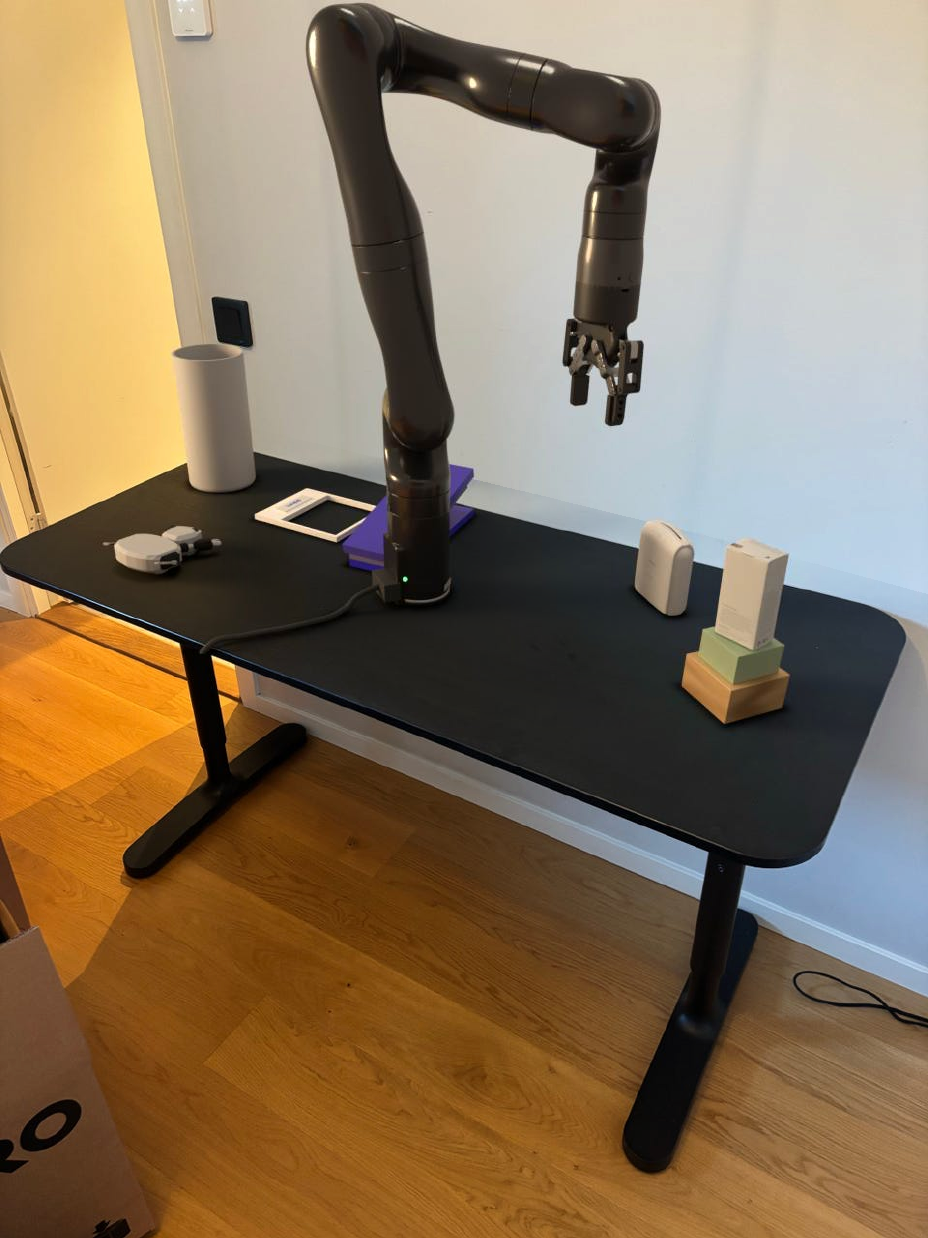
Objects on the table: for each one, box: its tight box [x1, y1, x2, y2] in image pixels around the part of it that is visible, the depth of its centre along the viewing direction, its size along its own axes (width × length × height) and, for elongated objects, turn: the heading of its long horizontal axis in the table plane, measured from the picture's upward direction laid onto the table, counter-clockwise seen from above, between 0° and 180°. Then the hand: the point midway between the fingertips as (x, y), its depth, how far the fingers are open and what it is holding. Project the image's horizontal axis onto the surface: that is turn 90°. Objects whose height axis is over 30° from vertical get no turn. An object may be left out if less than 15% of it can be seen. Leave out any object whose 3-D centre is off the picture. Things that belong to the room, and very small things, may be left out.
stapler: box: [342, 463, 475, 572], centre depth 153 cm, size 12×28×10 cm, turn 156°
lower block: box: [681, 650, 791, 725], centre depth 115 cm, size 9×9×5 cm
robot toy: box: [102, 524, 222, 575], centre depth 146 cm, size 12×4×15 cm
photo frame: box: [254, 487, 377, 543], centre depth 163 cm, size 15×1×18 cm
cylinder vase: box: [171, 343, 257, 494], centre depth 170 cm, size 12×12×25 cm
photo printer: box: [634, 519, 695, 616], centre depth 135 cm, size 10×4×12 cm, turn 20°
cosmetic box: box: [714, 536, 790, 651], centre depth 109 cm, size 6×4×12 cm
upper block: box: [698, 626, 785, 684], centre depth 113 cm, size 7×7×4 cm
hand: (595, 414), depth 113 cm, fingers open, 8 cm apart
